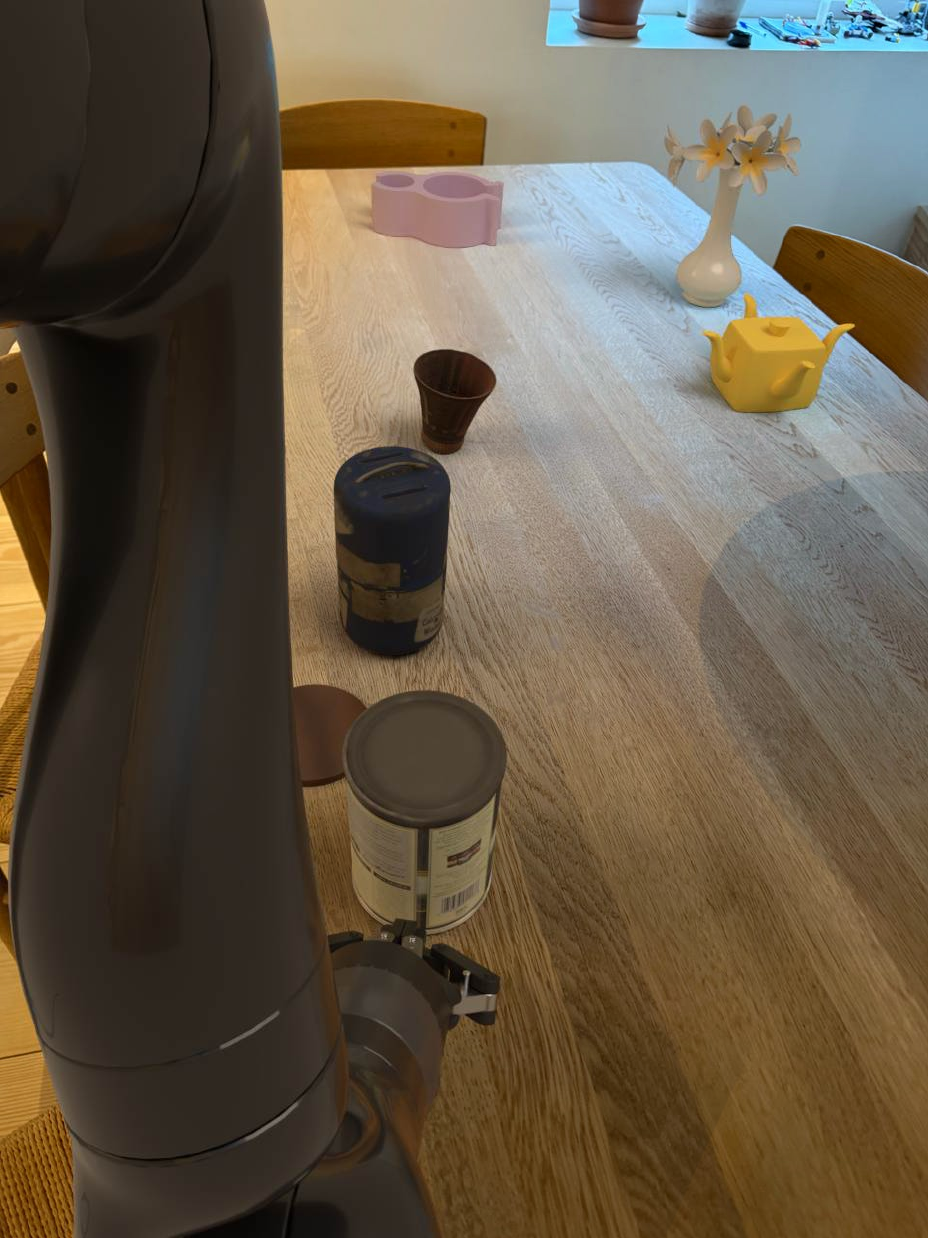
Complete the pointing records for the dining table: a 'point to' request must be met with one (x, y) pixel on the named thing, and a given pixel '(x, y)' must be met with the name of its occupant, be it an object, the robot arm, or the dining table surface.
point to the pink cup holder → (437, 207)
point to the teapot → (769, 361)
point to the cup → (450, 395)
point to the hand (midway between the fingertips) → (404, 935)
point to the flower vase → (727, 194)
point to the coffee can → (423, 807)
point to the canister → (391, 547)
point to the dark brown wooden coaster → (323, 730)
